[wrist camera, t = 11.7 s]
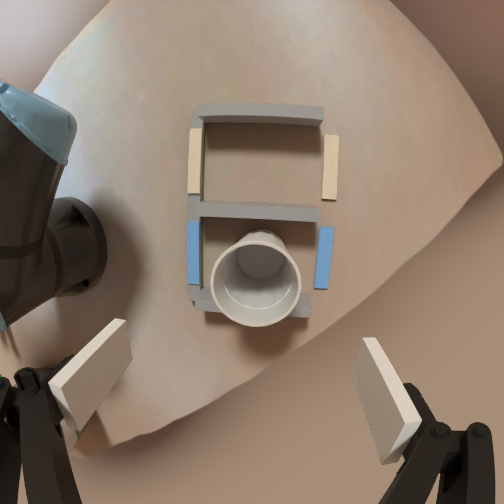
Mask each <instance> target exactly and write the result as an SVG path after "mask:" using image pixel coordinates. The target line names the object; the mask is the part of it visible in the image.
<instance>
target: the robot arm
mask: <svg viewBox="0 0 504 504" xmlns="http://www.w3.org/2000/svg"><path fill="white" fill-rule="evenodd" d="M76 132H77V123H76V120H75V118H74V117H73V115H72V114H71V113H69V112H68V111H66V110H65V109H63V108H61V107H59V106H58V105H56V104H54V103H52V102H50V101H49V100H47V99H45V98H43V97H41V96H39V95H37V94H35V93H33V92H31V91H29V90H27V89H25V88H23V87H21V86H18V85H16V84H14V83H11V82H9V81H7V80H5V79H2V78H0V331H4V330H5V329H6V327H8V326H9V325H11V324H12V323H14V322H15V321H17V320H18V319H20V318H21V317H23V316H24V315H26V314H27V313H29V312H30V311H32V310H33V309H35V308H36V307H38V306H40V305H41V304H43V303H45V302H46V301H48V300H49V299H51V298H53V297H65V296H75V295H79V294H82V293H84V292H86V291H87V290H89V289H90V288H92V287H93V286H94V285H96V283H97V282H98V281H99V280H100V278H101V276H102V274H103V272H104V269H105V264H106V257H107V248H106V240H105V236H104V232H103V229H102V226H101V224H100V222H99V220H98V218H97V216H96V215H95V213H94V212H93V211H92V210H91V208H90V207H89V206H88V205H86V204H85V203H84V202H82V201H80V200H78V199H76V198H72V197H63V198H56V199H54V197H55V194H56V191H57V187H58V184H59V181H60V178H61V175H62V173H63V170H64V167H65V166H66V165H67V163H68V156H69V153H70V150H71V147H72V144H73V141H74V138H75V135H76ZM132 360H133V359H132V353H131V348H130V342H129V336H128V330H127V323H126V320H122V319H116V318H115V319H114V320H113V321H111V322H110V323H109V324H108V325H107V326H106V327H105V328H104V329H103V330H102V331H101V332H100V333H99V334H97V335H96V336H95V337H94V338H93V339H92V340H91V341H90V342H89V343H88V344H87V345H86V346H85V347H84V348H83V349H82V350H81V351H80V352H79V353H78V354H77V355H71V356H69V357H67V358H65V359H64V360H63V361H62V362H60V363H59V365H57V366H56V367H55V369H53V370H52V371H51V372H50V373H49V374H48V375H47V376H46V377H45V378H44V379H43V380H42V381H41V379H40V377H39V374H38V372H37V370H36V369H34V368H31V367H26V368H22V369H20V370H18V371H17V372H16V373H15V375H14V379H15V381H16V384H17V386H18V388H17V387H12V386H11V384H10V381H9V379H7V378H5V377H0V504H17V500H18V489H19V480H20V472H21V465H22V467H23V474H24V481H25V488H26V494H27V499H28V504H82V501H81V498H80V495H79V492H78V489H77V486H76V483H75V480H74V476H73V472H72V469H71V465H70V461H69V457H68V453H67V448H66V444H65V439H64V434H63V429H62V426H61V424H60V422H61V421H62V420H63V418H64V420H65V422H66V424H67V426H68V427H70V428H72V429H75V430H77V431H81V430H82V429H83V427H84V426H85V424H86V423H87V421H88V420H89V419H90V417H91V416H92V414H93V413H94V412H95V410H96V409H97V407H98V406H99V405H100V403H101V402H102V401H103V399H104V398H105V396H106V395H107V394H108V392H109V391H110V390H111V388H112V387H113V385H114V384H115V383H116V381H117V380H118V379H119V377H120V376H121V375H122V373H123V372H124V371H125V369H126V368H127V366H128V365H129V364H130V362H131V361H132ZM352 378H353V380H354V383H355V386H356V389H357V392H358V395H359V398H360V400H361V403H362V406H363V409H364V412H365V415H366V418H367V421H368V424H369V427H370V430H371V433H372V436H373V439H374V442H375V445H376V448H377V451H378V454H379V458H380V461H381V464H382V465H384V464H390V463H395V462H398V460H399V459H400V457H401V456H402V454H403V457H404V459H405V461H404V463H403V464H402V466H401V467H400V469H399V471H398V472H397V473H396V474H397V475H396V477H395V478H394V480H393V482H392V483H391V485H390V486H389V488H388V490H387V491H386V493H385V494H384V496H383V497H382V499H381V500H380V502H379V503H378V504H425V502H426V500H427V498H428V496H429V494H430V492H431V490H432V487H433V485H434V483H435V481H436V478H437V476H438V474H439V473H440V480H439V488H438V495H437V501H436V504H495V467H494V453H493V443H492V435H491V431H490V429H489V428H488V426H487V425H485V424H483V423H480V422H475V423H472V424H470V426H469V427H468V428H467V430H466V431H452V430H451V428H450V427H449V426H448V425H446V424H444V423H443V422H437V421H436V419H435V417H434V416H433V414H432V412H431V410H430V409H429V407H428V405H427V404H426V403H425V400H424V399H423V397H422V395H421V393H420V392H419V390H418V389H417V388H416V387H415V386H414V385H412V384H411V383H404V384H402V383H401V381H400V379H399V377H398V375H397V374H396V372H395V370H394V368H393V367H392V365H391V363H390V362H389V360H388V358H387V356H386V355H385V353H384V352H383V350H382V348H381V347H380V345H379V343H378V341H377V340H376V338H362V342H361V347H360V351H359V355H358V359H357V363H356V366H355V370H354V374H353V377H352Z"/></svg>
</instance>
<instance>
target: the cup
mask: <svg viewBox="0 0 504 504" xmlns="http://www.w3.org/2000/svg"><path fill="white" fill-rule="evenodd" d="M301 285H302V284H301V275H300V272H299V269H298V267H297V265H296V263H295V261H294V260H293V259H292V257H291V256H290V254H289V253H288V251H287V249H286V248H285V245H284V243H283V241H282V240H281V238H280V237H279V236H278V235H276V234H275V233H273V232H271V231H269V230H265V229H257V230H253V231H250V232H248V233H247V234H245V235H244V236H243V237H242V238H241V239H240V241H239V242H237V243H236V244H234V245H233V246H232V247H230V248H229V249H227V250H226V251H225V252H224V253H223V254H222V255H221V256H220V257H219V258H218V260H217V261H216V263H215V265H214V267H213V269H212V273H211V278H210V288H211V293H212V296H213V299H214V301H215V303H216V305H217V306H218V308H219V309H220V310H221V311H222V313H223V314H225V315H226V316H227V317H228V318H230V319H231V320H233V321H235V322H237V323H239V324H242V325H246V326H251V327H262V326H268V325H271V324H274V323H276V322H279V321H280V320H282V319H283V318H285V317H286V316H287V315H288V314H289V313H290V312H291V311H292V310H293V309H294V307H295V306H296V304H297V302H298V300H299V297H300V294H301Z"/></svg>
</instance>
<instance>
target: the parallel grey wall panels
mask: <svg viewBox="0 0 504 504" xmlns="http://www.w3.org/2000/svg"><path fill="white" fill-rule="evenodd" d="M323 120H324V107H315V106H304V105H290V104H272V103H206V104H198V110H192V118H191V129H190V140H189V162H188V222H187V259H188V284H189V300H190V301H195V310H198V311H209V312H221V313H222V311H221V310H220V309H219V308H218V306H217V305H216V303H215V301H214V299H213V296H212V293H211V288H202V217H230V218H252V219H272V220H290V221H307V222H319V220H320V208H318V207H316V206H307V205H292V204H274V203H254V202H227V201H202V190H203V160H204V138H205V123H274V124H292V125H305V126H317V127H318V126H319V125H320V124H321V123H322V122H323ZM338 148H339V136H334V135H324V157H323V180H322V199H334V200H336V193H337V175H338ZM333 233H334V227H319V240H318V251H317V262H316V272H315V281H314V288H325V289H328V281H329V272H330V264H331V254H332V244H333ZM310 311H311V305H310V301H309V298H308V294H300V297H299V300H298V302H297V304H296V306H295V307H294V309H293V310H292V311H291V312H290V313H289V314H288V315H287V316H286V317H305V318H310Z"/></svg>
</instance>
